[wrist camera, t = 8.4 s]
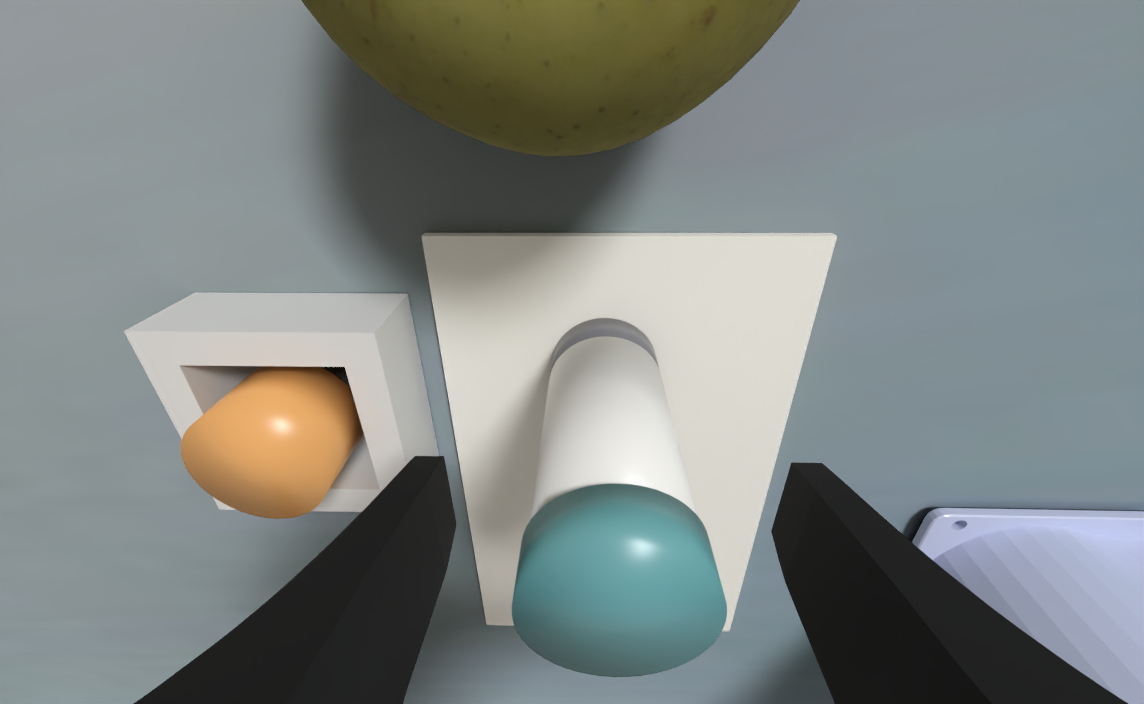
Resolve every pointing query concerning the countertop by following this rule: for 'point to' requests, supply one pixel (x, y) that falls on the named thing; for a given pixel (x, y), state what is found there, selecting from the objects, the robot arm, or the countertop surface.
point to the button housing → (303, 339)
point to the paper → (683, 350)
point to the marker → (613, 519)
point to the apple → (552, 62)
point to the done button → (274, 441)
